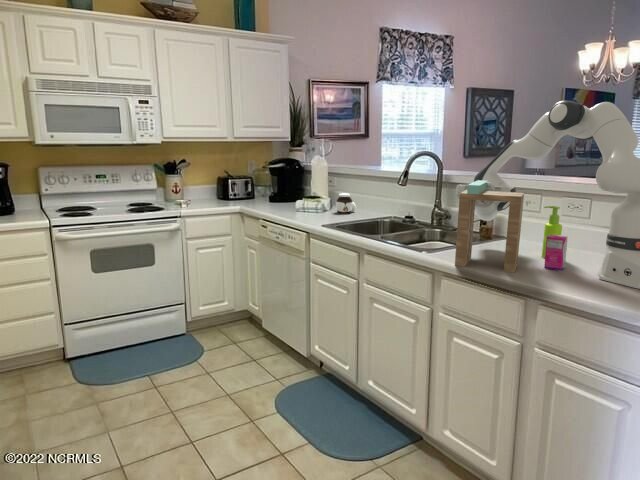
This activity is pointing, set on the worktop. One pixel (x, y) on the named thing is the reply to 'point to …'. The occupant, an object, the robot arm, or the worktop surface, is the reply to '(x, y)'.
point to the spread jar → (345, 204)
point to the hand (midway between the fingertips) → (481, 184)
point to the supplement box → (555, 252)
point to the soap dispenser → (551, 227)
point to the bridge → (468, 222)
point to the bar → (477, 187)
